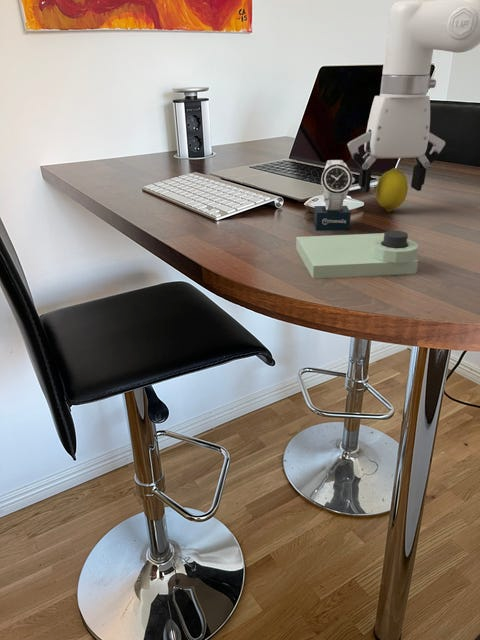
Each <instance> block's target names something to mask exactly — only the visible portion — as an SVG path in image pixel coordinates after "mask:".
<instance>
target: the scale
mask: <svg viewBox="0 0 480 640" xmlns="http://www.w3.org/2000/svg"><path fill="white" fill-rule="evenodd" d="M384 233H385V232H381V233H359V234H357V233H356V234H336V235H335V234H333V235H314V236H313V235H311V236H309V235H308V236H296V237H295V238H296V239H295V249H296V251H297V253H298V255H299V257H300V258H301V260H302V262H303V264H304V266H305V267H306V269H307V272H308V273H309V274H310V276H311V278H312V279H313V280H315V279H336V278H355V277H378V276H395V275H396V276H398V275H415V274H417V273H418V265H419V260H418V259H417V256H418V252H419V251H418V250H419V244H418V243H416V242H415V241H414V240H413V239H408V238H407V245H406V247H405V248H388V247H385V246H383V241H384Z"/></svg>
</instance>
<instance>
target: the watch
mask: <svg viewBox="0 0 480 640" xmlns="http://www.w3.org/2000/svg"><path fill="white" fill-rule="evenodd" d="M355 181H356V180H355V177H353V173H352V172H351V170H350V168H349V167H348V164H347V163H346V162H344V160H343V159H328V160H327V161H326V163H325V167H324V169H323V172H322V174H321V178H320V184H321V187H322V188H323V194H322V196H323V202H324V204H325V205H313V206H314V208H313V226H314V229H315V231H316V232H317V231H318V232H319V231H323V232H324V231H327V232H328V231H332V232H333V231H335V232H336V231H350V227H351V226H350V225H351V211H350V209H349V206H347V205H343V204H344V200H346V199H347V196H348V193H349V190H350V188H351V187H352V185H353V184H354V183H355Z"/></svg>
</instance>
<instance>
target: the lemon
mask: <svg viewBox="0 0 480 640" xmlns="http://www.w3.org/2000/svg"><path fill="white" fill-rule="evenodd" d="M408 190H409V189H408V180H407V177H406V175H405V174H404V173H403V172H402V171H400V170H398V169H397V168H396V167H392V168H391V169H390V170H387V171H385V172H384V173H383V174H382V175H380V177H379V179H378V181H377V183H376V188H375V199H376V201H377V203H378V204H379V206H381V207H382V208H384V209H385V210H386V212H388V213H391V212H392V211H394V210H395V209H397V208H399V207H401V205H403V203H404V202H405V200H406V198H407V195H408Z"/></svg>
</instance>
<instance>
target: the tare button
mask: <svg viewBox="0 0 480 640" xmlns="http://www.w3.org/2000/svg"><path fill="white" fill-rule="evenodd" d="M383 233H384V241H383V246H385V247H388V248H405V247H406V245H407V239H408V236H409V235H408V233H407V232H405V231H401V230H387V231H385V232H383Z"/></svg>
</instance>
